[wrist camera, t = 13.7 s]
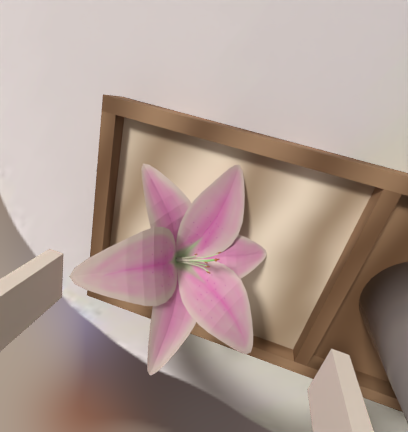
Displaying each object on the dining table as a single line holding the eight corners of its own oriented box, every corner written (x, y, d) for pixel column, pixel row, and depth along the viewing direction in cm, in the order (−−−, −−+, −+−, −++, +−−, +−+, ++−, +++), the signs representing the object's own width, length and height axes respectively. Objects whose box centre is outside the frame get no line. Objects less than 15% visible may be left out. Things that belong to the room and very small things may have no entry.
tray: (586, 221, 16) (635, 238, 14) (431, 398, 23) (448, 428, 20) (121, 96, 20) (103, 94, 18) (102, 279, 26) (87, 295, 24)
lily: (248, 314, 24) (313, 388, 14) (104, 321, 21) (68, 416, 12) (253, 173, 23) (324, 154, 14) (106, 166, 21) (70, 135, 11)
